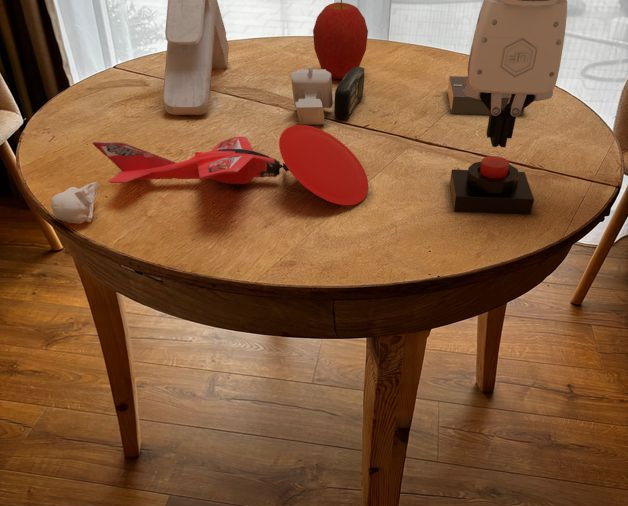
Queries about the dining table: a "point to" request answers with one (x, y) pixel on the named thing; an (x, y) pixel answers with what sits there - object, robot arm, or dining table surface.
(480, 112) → the base
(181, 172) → the toy airplane
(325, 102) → the white blocky device
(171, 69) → the leaning slabs
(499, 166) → the button
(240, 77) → the dining table surface
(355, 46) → the apple
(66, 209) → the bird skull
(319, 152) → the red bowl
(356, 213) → the dining table surface
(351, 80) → the mobile phone
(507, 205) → the button block
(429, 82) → the dining table surface
